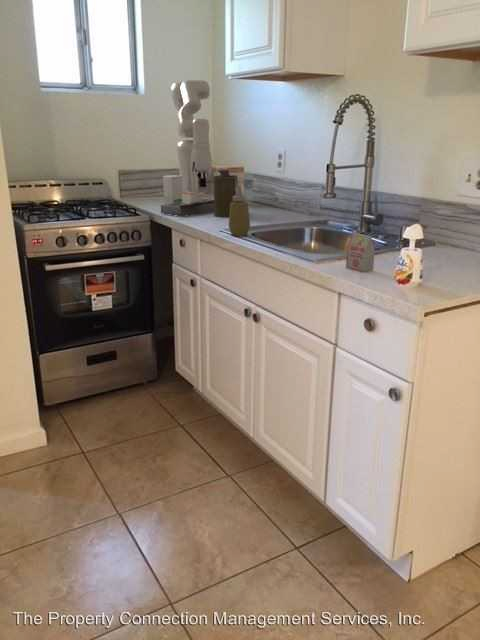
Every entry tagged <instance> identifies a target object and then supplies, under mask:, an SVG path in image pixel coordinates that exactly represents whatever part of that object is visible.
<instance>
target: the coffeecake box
mask: <svg viewBox="0 0 480 640" xmlns="http://www.w3.org/2000/svg"><path fill="white" fill-rule="evenodd" d="M220 170H228V171H229V175H237V180H238V186H241V190H242V195H243V196H245V167H244V165H221V166H220V165H218V166H217V165H216V166H215V165H214V168H213V171H214V172H213V173H214V175H213V176H220V172H218V171H220ZM236 190H237V185H236Z"/></svg>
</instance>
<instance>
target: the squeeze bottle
mask: <svg viewBox="0 0 480 640" xmlns="http://www.w3.org/2000/svg"><path fill="white" fill-rule="evenodd" d="M249 212H250V211H249V203H248V202H247V201H246V195H244V196H243V195H242V190H241V186H237V190H236V196H233V202H231V203H230V215H229V217H228V228H229V231H230V234H231V236H233V237H245V236H247V235H248V233H249V229H250V226H251V222H250V213H249Z"/></svg>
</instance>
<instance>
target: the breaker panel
mask: <svg viewBox="0 0 480 640" xmlns="http://www.w3.org/2000/svg"><path fill="white" fill-rule="evenodd" d="M212 212H214V199H210V200H203V199H201V200H197V202H194V203H182V202H178V203H170V204H165V205H164V204H160V214H161V213H164V214H163V215H166V214H171V215H170V216H173V215H177V216H176V217H179V216H182V217H186V216H185V215H188V216H193V215H192V214H195V215H199V214H200V215H201V214H205V213H206V214H207V213H212Z"/></svg>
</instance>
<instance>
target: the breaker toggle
mask: <svg viewBox="0 0 480 640" xmlns="http://www.w3.org/2000/svg"><path fill="white" fill-rule="evenodd" d="M194 202H197V192H189V191H188V192H182V203H194Z"/></svg>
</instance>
